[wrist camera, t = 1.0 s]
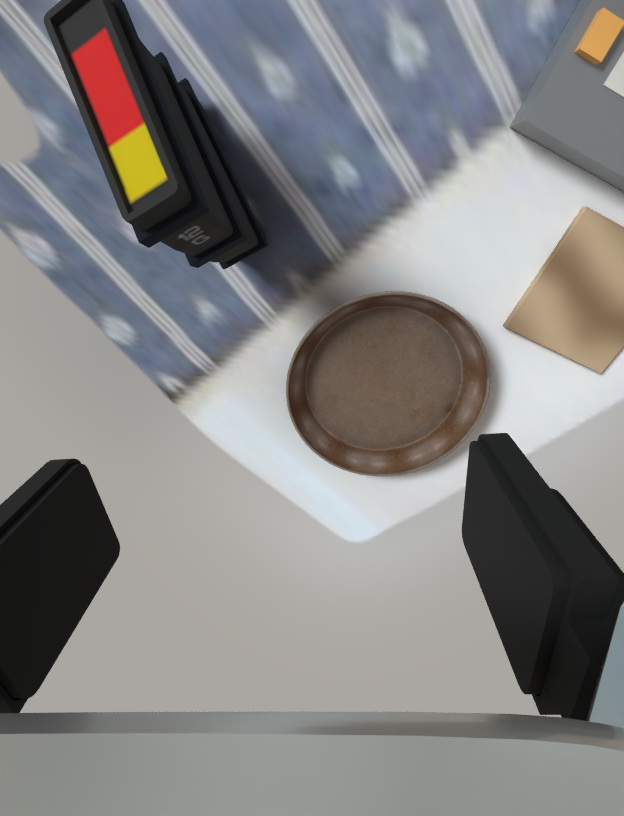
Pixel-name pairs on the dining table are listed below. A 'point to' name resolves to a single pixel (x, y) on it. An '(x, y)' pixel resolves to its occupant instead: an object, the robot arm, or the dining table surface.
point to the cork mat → (578, 294)
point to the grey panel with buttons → (582, 93)
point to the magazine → (151, 137)
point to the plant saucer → (387, 383)
